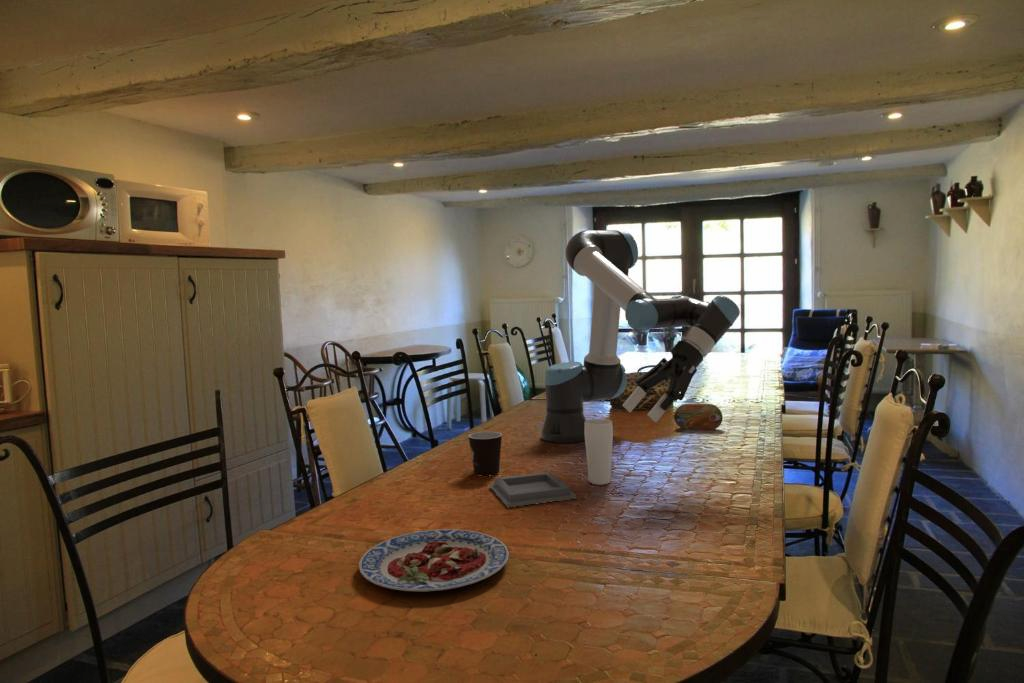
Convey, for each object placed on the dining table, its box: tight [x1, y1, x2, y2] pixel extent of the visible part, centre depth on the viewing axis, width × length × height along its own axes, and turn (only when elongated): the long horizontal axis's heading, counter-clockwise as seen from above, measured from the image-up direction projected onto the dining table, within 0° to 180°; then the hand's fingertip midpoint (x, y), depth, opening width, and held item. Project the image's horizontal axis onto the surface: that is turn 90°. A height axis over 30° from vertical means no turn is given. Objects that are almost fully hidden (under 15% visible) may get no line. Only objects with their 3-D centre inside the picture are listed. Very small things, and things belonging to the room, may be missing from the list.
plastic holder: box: [489, 471, 577, 508], centre depth 156 cm, size 16×16×2 cm
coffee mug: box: [468, 431, 503, 477], centre depth 176 cm, size 12×9×10 cm
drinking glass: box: [584, 418, 614, 486], centre depth 162 cm, size 7×7×15 cm
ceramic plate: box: [358, 528, 510, 592], centre depth 117 cm, size 26×26×3 cm
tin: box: [673, 403, 724, 431], centre depth 217 cm, size 15×3×8 cm, turn 73°
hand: (638, 413), depth 164 cm, fingers open, 13 cm apart
